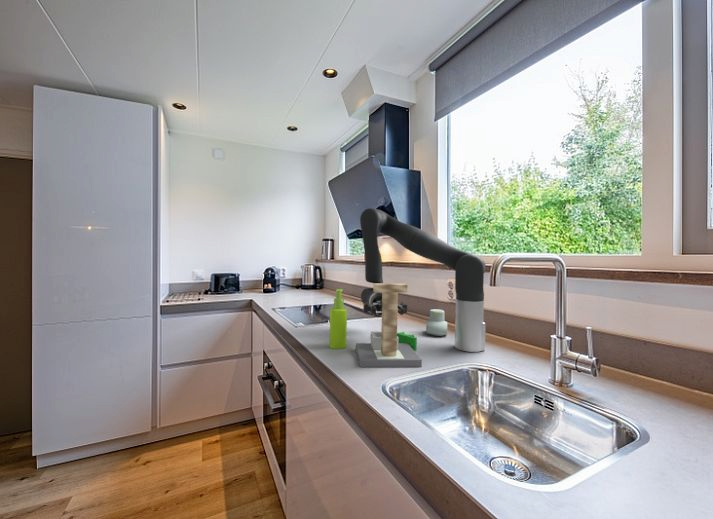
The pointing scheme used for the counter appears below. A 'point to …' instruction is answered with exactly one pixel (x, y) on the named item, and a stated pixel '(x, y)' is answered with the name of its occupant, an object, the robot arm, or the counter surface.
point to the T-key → (389, 315)
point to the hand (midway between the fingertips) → (388, 311)
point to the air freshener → (436, 323)
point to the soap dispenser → (338, 323)
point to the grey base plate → (373, 357)
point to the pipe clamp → (408, 340)
